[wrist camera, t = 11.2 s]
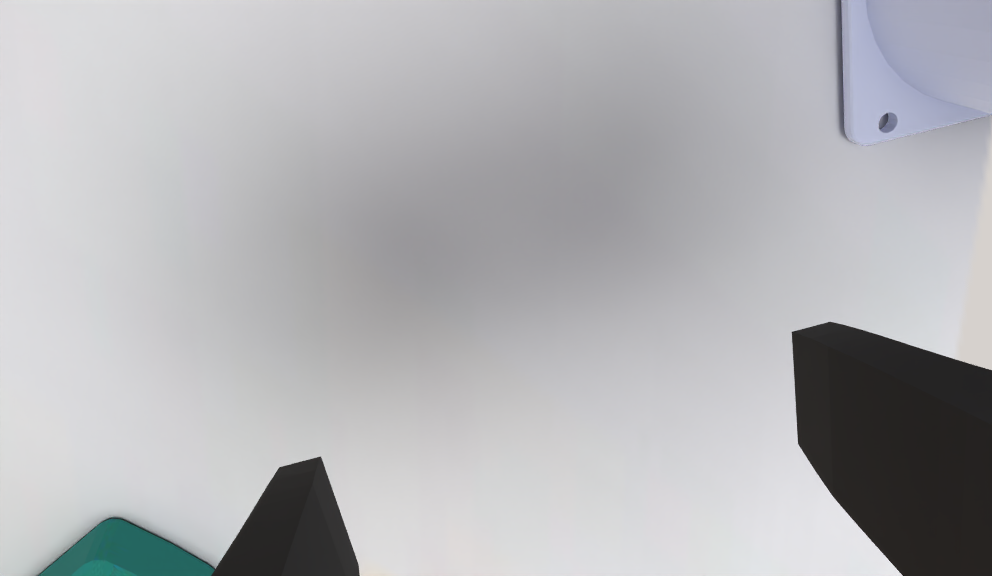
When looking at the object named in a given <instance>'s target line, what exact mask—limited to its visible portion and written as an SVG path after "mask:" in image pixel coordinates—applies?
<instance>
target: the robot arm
mask: <svg viewBox="0 0 992 576" xmlns="http://www.w3.org/2000/svg"><path fill="white" fill-rule="evenodd" d="M841 4H842V46H843V89H844V129H845V134H846V136H847V138H848V139H849V140H850V141H852V142H854V143H856V144H859V145H862V146H869V145H873V144H877V143H881V142H885V141H889V140H893V139H897V138H901V137H905V136H909V135H913V134H917V133H921V132H925V131H930V130H934V129H938V128H942V127H946V126H950V125H954V124H958V123H962V122H966V121H970V120H974V119H978V118H982V117H986V116H990V115H992V0H841ZM886 113H887V114H888V117H889V118H888V122H887V124H886V125H885V126H884V127H883V128H882V129H879V126H878V125H879V120H880V119H881V117H882V116H883V115H884V114H886ZM792 343H793V360H794V378H795V396H796V414H797V432H798V444H799V446H800V447H801V449H802V451H803V452H804V454H805V455H806V457H807V458H808V460H809V461H810V463H811V465H812V466H813V468H814V469H815V471H816V472H817V474H818V475H819V477H820V478H821V480H822V481H823V483H824V484H825V485H826V487H827V488H828V490H829V491H830V493H831V494H832V496H833V497H834V498H835V499H836V501H837V502H838V503H839V504H840V505H841V506H842V508H843V509H844V510H845V511H846V512H847V513H848V514H849V516H850V517H851V518H852V519H853V520H854V521H855V522H856V524H857V525H858V526H859V527H860V528H861V529H862V530H863V532H864V533H865V534H866V535H867V536H868V537H869V538H870V539H871V541H872V542H873V543H874V544H875V545H876V546H877V547H878V548H879V550H880V551H881V552H882V553H883V554H884V555H885V556H886V557H887V558H888V560H889V561H890V562H891V563H892V564H893V565H894V566H895V567H896V569H897V570H898V571H899V572H900V573H901V574H902V575H903V576H992V370H989V369H985V368H982V367H978V366H975V365H972V364H968V363H965V362H962V361H958V360H955V359H952V358H949V357H946V356H942V355H939V354H936V353H933V352H930V351H927V350H923V349H920V348H917V347H914V346H911V345H908V344H905V343H902V342H899V341H895V340H892V339H889V338H886V337H883V336H880V335H877V334H873V333H870V332H867V331H863V330H860V329H857V328H853V327H849V326H846V325H842V324H837V323H833V322H828V323H824V324H820V325H817V326H813V327H809V328H805V329H801V330H798V331H794V332H792ZM211 576H360V575H359V566H358V562H357V559H356V556H355V553H354V551H353V548H352V545H351V542H350V539H349V536H348V533H347V530H346V528H345V525H344V522H343V519H342V516H341V513H340V510H339V507H338V505H337V502H336V499H335V496H334V493H333V490H332V487H331V484H330V481H329V479H328V476H327V473H326V470H325V467H324V464H323V461H322V458H321V457H317V458H313V459H310V460H306V461H302V462H298V463H294V464H291V465H287V466H283V467H279V469H278V470H277V472H276V473H275V475H274V477H273V478H272V480H271V481H270V483H269V484H268V486H267V487H266V489H265V491H264V492H263V494H262V496H261V497H260V499H259V501H258V502H257V504H256V506H255V507H254V509H253V511H252V512H251V514H250V516H249V517H248V519H247V520H246V522H245V524H244V525H243V527H242V529H241V530H240V532H239V533H238V535H237V537H236V538H235V540H234V541H233V543H232V544H231V546H230V547H229V549H228V550H227V552H226V554H225V555H224V557H223V558H222V560H221V561H220V563H219V564H218V566H217V568H216V569H215V571H214V572H213V573H212V575H211Z"/></svg>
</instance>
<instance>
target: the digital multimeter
mask: <svg viewBox="0 0 992 576" xmlns="http://www.w3.org/2000/svg"><path fill="white" fill-rule="evenodd" d="M214 571H215V570H214V569H213V568H212V567H211V566H209V565H208V564H206V563H204V562H203V561H201V560H199V559H197V558H196V557H194V556H192V555H191V554H189V553H187V552H185V551H184V550H182V549H180V548H178V547H177V546H175V545H173V544H171V543H169V542H167V541H165V540H163V539H161V538H159V537H157V536H155V535H153V534H151V533H149V532H147V531H145V530H142V529H140V528H138V527H136V526H134V525H132V524H130V523H128V522H126V521H124V520H121V519H109V520H107V521H104V522H102V523H100V524H99V525H98V526H97V527H95V528H94V529H93V530H92V531H91V532H90V533H88V534H87V535H86V536H85V537H84V538H82V539H81V540H80V541H79V542H78V543H77V544H75V545H74V546H73V547H72V548H71V549H69V550H68V551H67V552H66V553H65V554H64V555H62V556H61V557H60V558H59V559H58V560H56V561H55V562H54V563H53V564H52V565H51V566H49V567H48V568H47V569H46V570H45V571H43V572H42V573H41V574H40V575H39V576H211V575H212V573H213V572H214Z"/></svg>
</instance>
